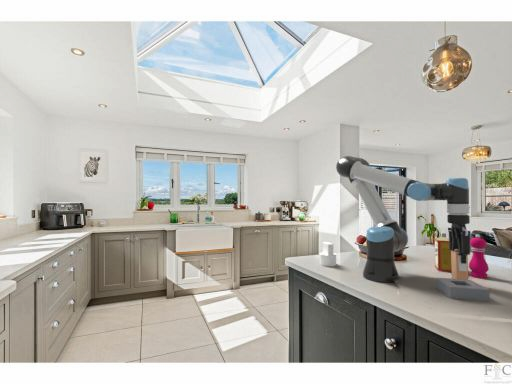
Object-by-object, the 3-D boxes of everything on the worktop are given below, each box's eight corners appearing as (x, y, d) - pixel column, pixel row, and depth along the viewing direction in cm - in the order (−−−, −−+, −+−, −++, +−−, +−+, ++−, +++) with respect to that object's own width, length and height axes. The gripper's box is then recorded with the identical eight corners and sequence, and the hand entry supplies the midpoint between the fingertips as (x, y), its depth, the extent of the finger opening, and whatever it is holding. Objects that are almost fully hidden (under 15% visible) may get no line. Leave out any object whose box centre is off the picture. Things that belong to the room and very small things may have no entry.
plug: (456, 284, 110) (455, 250, 111) (451, 281, 114) (451, 248, 115) (468, 284, 109) (467, 250, 110) (463, 281, 113) (462, 248, 114)
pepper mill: (492, 279, 121) (491, 235, 122) (474, 278, 123) (473, 235, 123) (482, 274, 128) (481, 233, 129) (465, 274, 130) (464, 233, 130)
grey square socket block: (450, 301, 95) (450, 287, 95) (435, 290, 107) (435, 277, 107) (489, 304, 92) (489, 289, 92) (470, 292, 104) (470, 279, 104)
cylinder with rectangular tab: (317, 262, 153) (317, 241, 154) (332, 262, 154) (332, 241, 155) (323, 266, 144) (323, 244, 145) (339, 266, 145) (338, 244, 146)
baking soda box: (454, 272, 133) (453, 240, 133) (438, 270, 136) (437, 239, 136) (449, 267, 141) (448, 238, 142) (435, 266, 144) (434, 237, 145)
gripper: (480, 215, 103) (482, 275, 103) (457, 213, 120) (459, 265, 119) (458, 215, 105) (460, 274, 104) (439, 213, 122) (440, 264, 121)
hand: (459, 269), depth 112 cm, fingers closed on plug, 4 cm apart
